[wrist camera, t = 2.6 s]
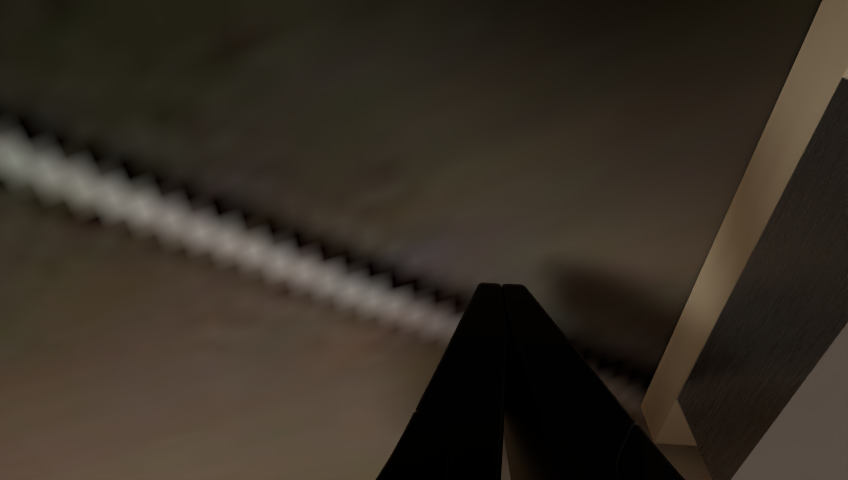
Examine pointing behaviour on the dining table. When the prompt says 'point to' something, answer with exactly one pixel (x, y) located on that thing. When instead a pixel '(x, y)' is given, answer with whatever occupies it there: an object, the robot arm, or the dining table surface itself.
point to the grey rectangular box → (784, 333)
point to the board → (750, 212)
